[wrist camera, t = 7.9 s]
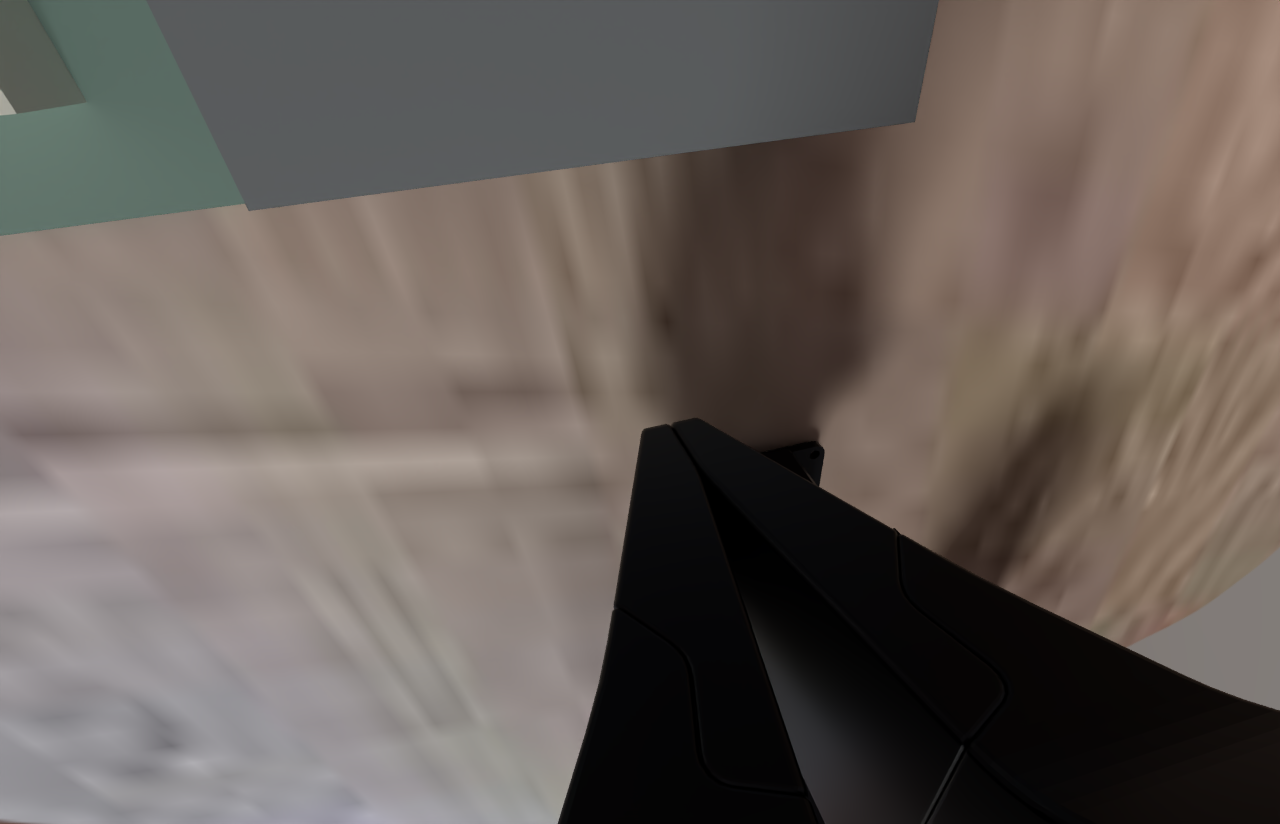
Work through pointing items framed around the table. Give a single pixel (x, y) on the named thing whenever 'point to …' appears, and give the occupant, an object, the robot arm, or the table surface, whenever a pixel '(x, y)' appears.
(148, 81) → the mat
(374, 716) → the table surface
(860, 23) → the grey flat box
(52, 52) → the block
